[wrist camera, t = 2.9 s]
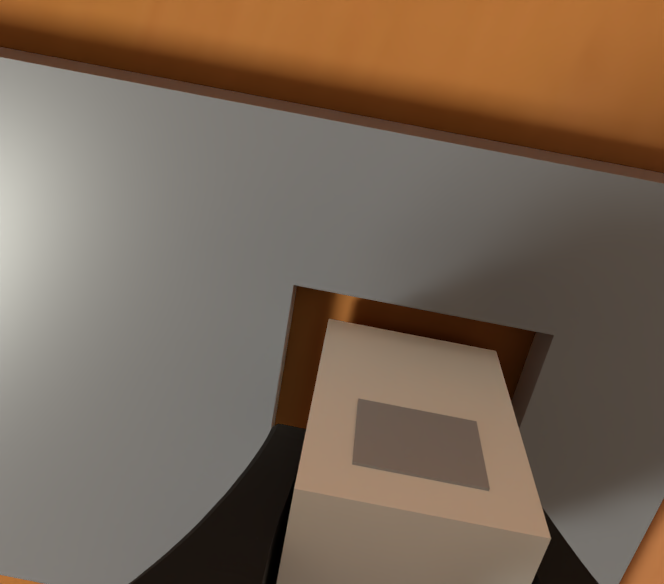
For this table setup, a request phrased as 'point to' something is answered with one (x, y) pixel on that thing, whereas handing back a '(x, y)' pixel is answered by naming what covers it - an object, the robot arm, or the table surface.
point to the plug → (411, 468)
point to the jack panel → (290, 302)
